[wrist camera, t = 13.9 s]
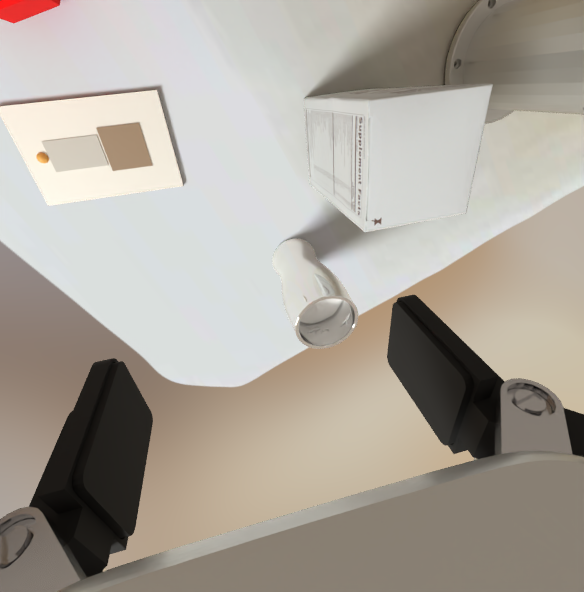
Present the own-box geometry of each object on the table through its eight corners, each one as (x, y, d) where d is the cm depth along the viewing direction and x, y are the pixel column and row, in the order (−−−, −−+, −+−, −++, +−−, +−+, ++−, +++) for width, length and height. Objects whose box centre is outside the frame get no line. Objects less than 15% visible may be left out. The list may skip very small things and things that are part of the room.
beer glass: (323, 269, 46) (366, 334, 33) (279, 287, 46) (305, 359, 33) (309, 226, 42) (352, 283, 29) (261, 247, 42) (283, 312, 29)
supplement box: (378, 175, 40) (468, 218, 26) (308, 186, 39) (363, 238, 25) (383, 84, 35) (499, 79, 21) (301, 94, 33) (368, 96, 20)
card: (157, 89, 30) (155, 89, 30) (183, 185, 35) (183, 187, 35) (-2, 106, 29) (-8, 106, 28) (50, 204, 34) (46, 207, 33)
